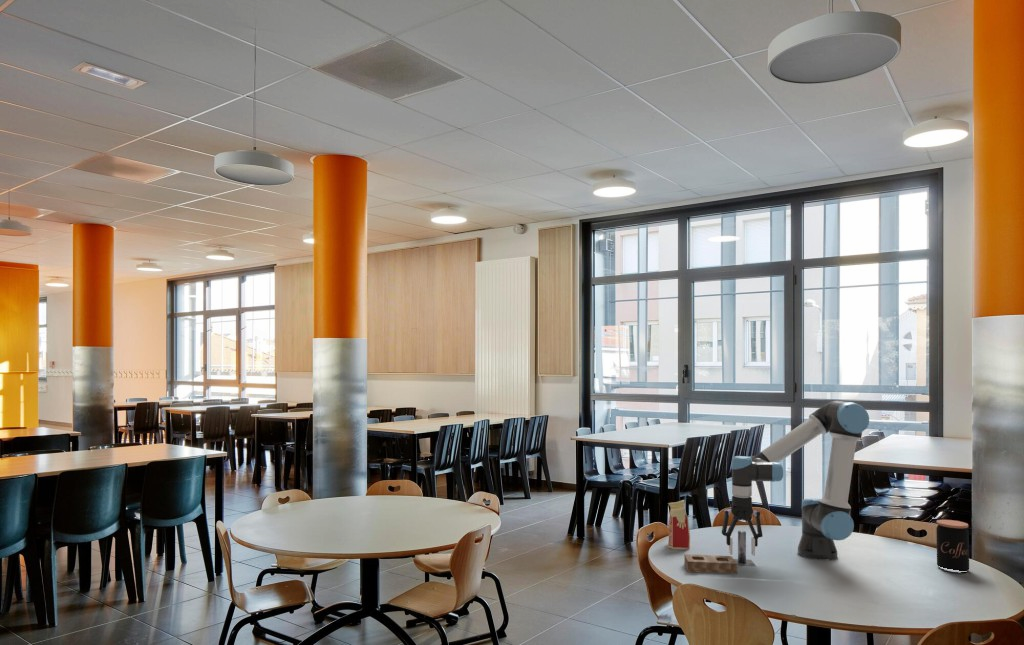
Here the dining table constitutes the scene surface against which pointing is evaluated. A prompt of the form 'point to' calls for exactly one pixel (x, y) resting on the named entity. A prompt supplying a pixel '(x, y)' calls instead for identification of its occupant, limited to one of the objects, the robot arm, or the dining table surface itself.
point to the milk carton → (678, 527)
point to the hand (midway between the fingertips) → (741, 554)
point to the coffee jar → (952, 545)
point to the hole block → (710, 563)
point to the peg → (741, 547)
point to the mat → (748, 563)
